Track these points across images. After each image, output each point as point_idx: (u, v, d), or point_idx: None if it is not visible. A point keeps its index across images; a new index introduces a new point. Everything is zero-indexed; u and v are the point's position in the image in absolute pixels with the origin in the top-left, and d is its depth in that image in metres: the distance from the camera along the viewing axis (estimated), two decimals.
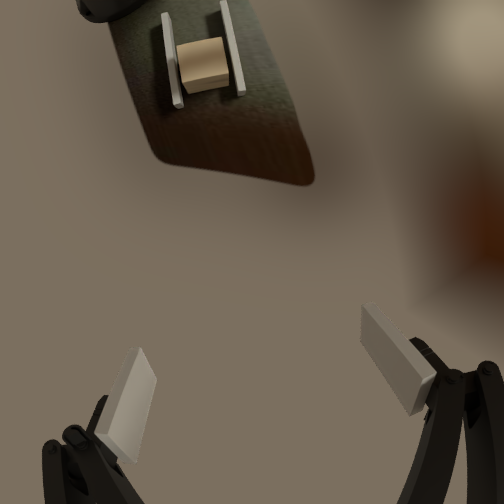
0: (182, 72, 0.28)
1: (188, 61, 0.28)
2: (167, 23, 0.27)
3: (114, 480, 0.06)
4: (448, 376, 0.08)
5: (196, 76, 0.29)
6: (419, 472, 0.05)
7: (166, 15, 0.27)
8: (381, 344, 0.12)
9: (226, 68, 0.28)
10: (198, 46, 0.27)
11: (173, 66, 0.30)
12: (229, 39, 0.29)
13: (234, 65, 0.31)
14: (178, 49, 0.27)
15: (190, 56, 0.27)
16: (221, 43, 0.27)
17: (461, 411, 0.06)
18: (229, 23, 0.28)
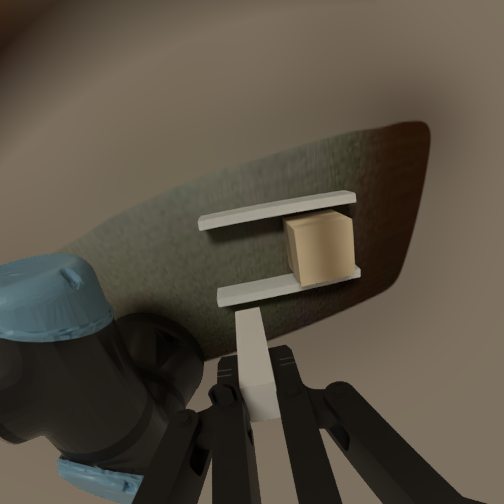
0: (341, 275, 0.27)
1: (328, 269, 0.27)
2: (239, 297, 0.30)
3: (246, 452, 0.07)
4: (284, 392, 0.10)
5: (350, 258, 0.27)
6: (296, 490, 0.06)
7: (223, 300, 0.30)
8: None
9: (345, 222, 0.25)
10: (308, 259, 0.26)
11: None
12: (278, 213, 0.28)
13: (321, 206, 0.28)
14: (307, 283, 0.27)
15: (321, 267, 0.27)
16: (306, 229, 0.25)
17: (313, 420, 0.08)
18: (247, 214, 0.27)
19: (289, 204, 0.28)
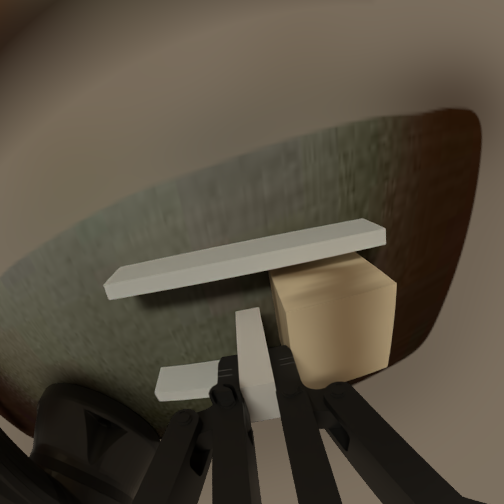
0: (366, 371, 0.14)
1: (345, 367, 0.14)
2: (187, 392, 0.17)
3: (247, 452, 0.07)
4: (284, 392, 0.10)
5: (384, 346, 0.14)
6: (296, 490, 0.06)
7: (164, 394, 0.17)
8: None
9: (385, 289, 0.13)
10: (310, 357, 0.13)
11: None
12: (241, 271, 0.15)
13: (323, 255, 0.15)
14: None
15: (333, 367, 0.14)
16: (310, 310, 0.12)
17: (313, 420, 0.08)
18: (184, 274, 0.14)
19: (262, 254, 0.15)
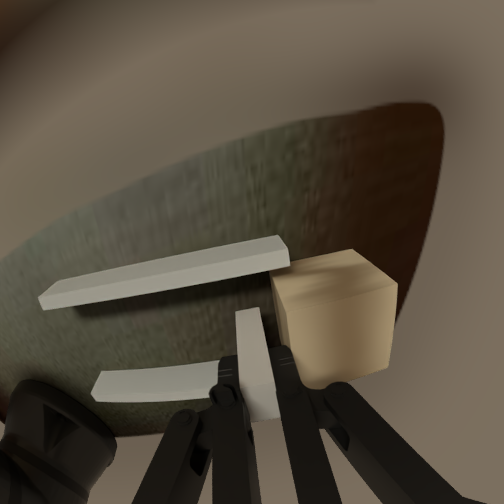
0: (367, 372, 0.14)
1: (345, 368, 0.14)
2: (115, 395, 0.17)
3: (247, 452, 0.07)
4: (284, 392, 0.10)
5: (385, 347, 0.14)
6: (296, 490, 0.06)
7: (98, 395, 0.17)
8: None
9: (385, 290, 0.12)
10: (311, 358, 0.13)
11: None
12: (137, 291, 0.15)
13: (214, 278, 0.15)
14: None
15: (334, 367, 0.14)
16: (310, 310, 0.12)
17: (313, 420, 0.08)
18: (92, 292, 0.14)
19: (153, 276, 0.14)
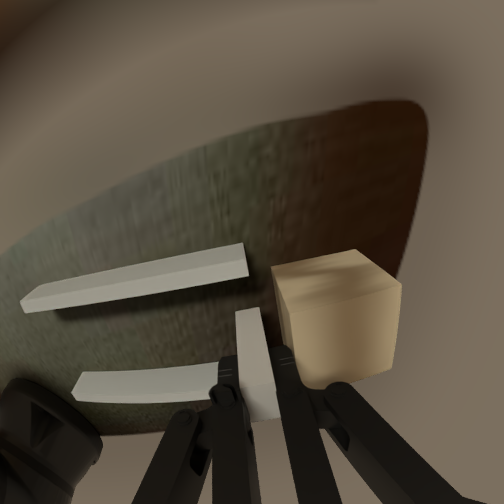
0: (370, 373, 0.14)
1: (349, 369, 0.14)
2: (93, 395, 0.17)
3: (246, 452, 0.07)
4: (284, 392, 0.10)
5: (389, 348, 0.14)
6: (296, 490, 0.06)
7: (78, 394, 0.17)
8: None
9: (390, 291, 0.12)
10: (314, 359, 0.13)
11: (186, 393, 0.17)
12: (104, 298, 0.14)
13: (174, 287, 0.14)
14: None
15: (337, 368, 0.14)
16: (314, 311, 0.12)
17: (313, 420, 0.08)
18: (65, 297, 0.14)
19: (117, 284, 0.14)
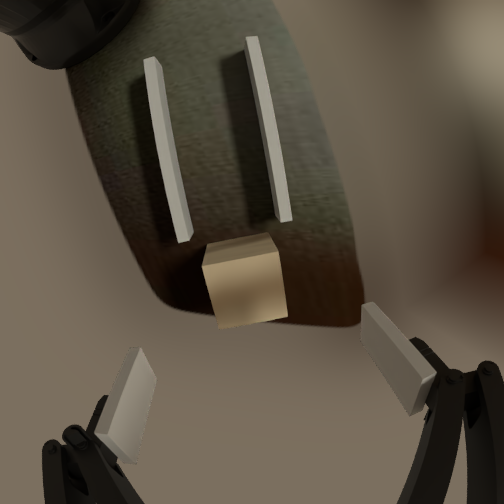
0: (217, 314, 0.22)
1: (225, 297, 0.22)
2: (155, 80, 0.18)
3: (114, 480, 0.06)
4: (448, 376, 0.08)
5: (240, 321, 0.23)
6: (419, 472, 0.05)
7: (152, 63, 0.18)
8: (381, 344, 0.12)
9: (284, 309, 0.23)
10: (239, 271, 0.21)
11: (171, 171, 0.21)
12: (265, 120, 0.20)
13: (274, 174, 0.22)
14: (206, 273, 0.21)
15: (228, 288, 0.22)
16: (278, 265, 0.21)
17: (461, 411, 0.06)
18: (264, 85, 0.19)
19: (276, 133, 0.21)
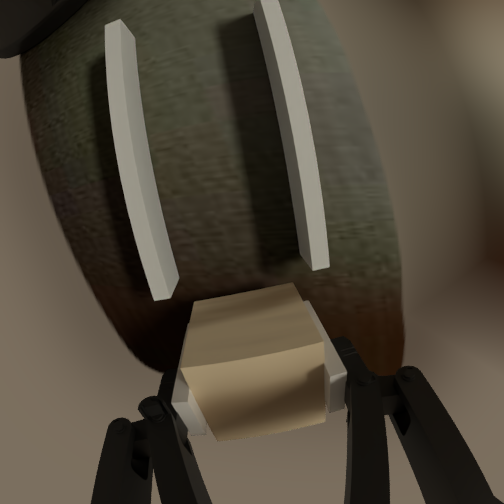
0: (214, 426, 0.12)
1: (226, 408, 0.11)
2: (117, 51, 0.10)
3: (184, 460, 0.07)
4: (358, 379, 0.09)
5: (250, 433, 0.12)
6: (351, 477, 0.06)
7: (117, 28, 0.10)
8: None
9: (322, 415, 0.12)
10: (251, 375, 0.11)
11: (137, 191, 0.13)
12: (291, 106, 0.12)
13: (305, 194, 0.14)
14: (189, 378, 0.10)
15: (230, 398, 0.11)
16: (320, 362, 0.11)
17: (381, 410, 0.08)
18: (288, 54, 0.11)
19: (309, 128, 0.13)
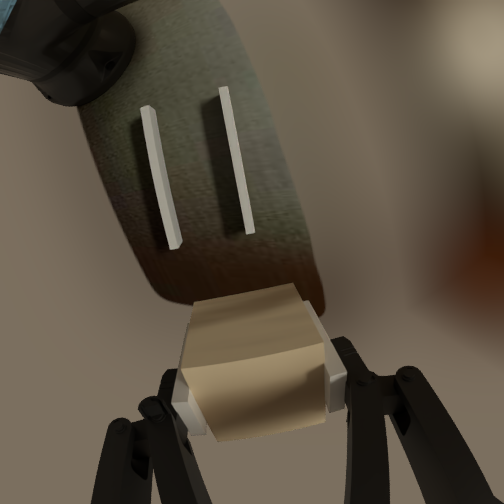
0: (214, 427, 0.12)
1: (226, 409, 0.11)
2: (149, 125, 0.26)
3: (184, 460, 0.07)
4: (358, 379, 0.09)
5: (250, 433, 0.12)
6: (351, 477, 0.06)
7: (147, 111, 0.26)
8: None
9: (322, 415, 0.12)
10: (251, 376, 0.11)
11: (164, 197, 0.29)
12: (233, 156, 0.28)
13: (240, 198, 0.30)
14: (189, 379, 0.10)
15: (230, 399, 0.11)
16: (321, 363, 0.11)
17: (381, 410, 0.08)
18: (232, 128, 0.27)
19: (242, 167, 0.29)
